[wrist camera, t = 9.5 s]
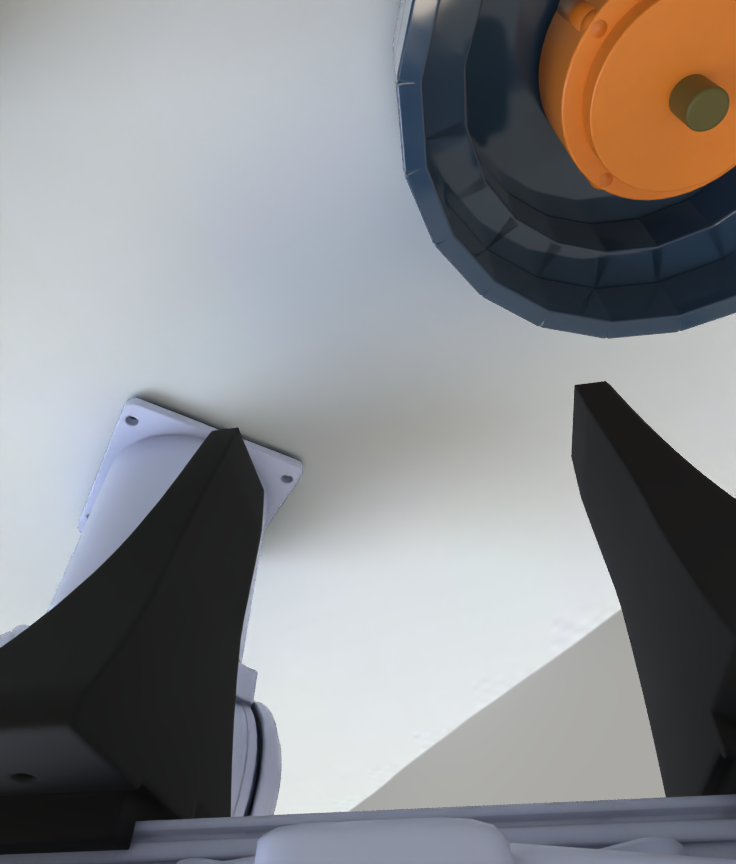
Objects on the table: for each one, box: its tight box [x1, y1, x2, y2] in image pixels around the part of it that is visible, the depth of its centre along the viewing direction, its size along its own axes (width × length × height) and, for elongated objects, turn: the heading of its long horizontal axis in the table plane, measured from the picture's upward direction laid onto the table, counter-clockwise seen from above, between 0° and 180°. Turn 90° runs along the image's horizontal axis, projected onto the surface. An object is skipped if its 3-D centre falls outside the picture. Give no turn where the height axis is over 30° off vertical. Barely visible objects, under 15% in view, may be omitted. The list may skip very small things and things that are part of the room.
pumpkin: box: [539, 0, 736, 200], centre depth 16 cm, size 6×6×5 cm
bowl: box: [393, 0, 736, 338], centre depth 16 cm, size 13×13×4 cm
